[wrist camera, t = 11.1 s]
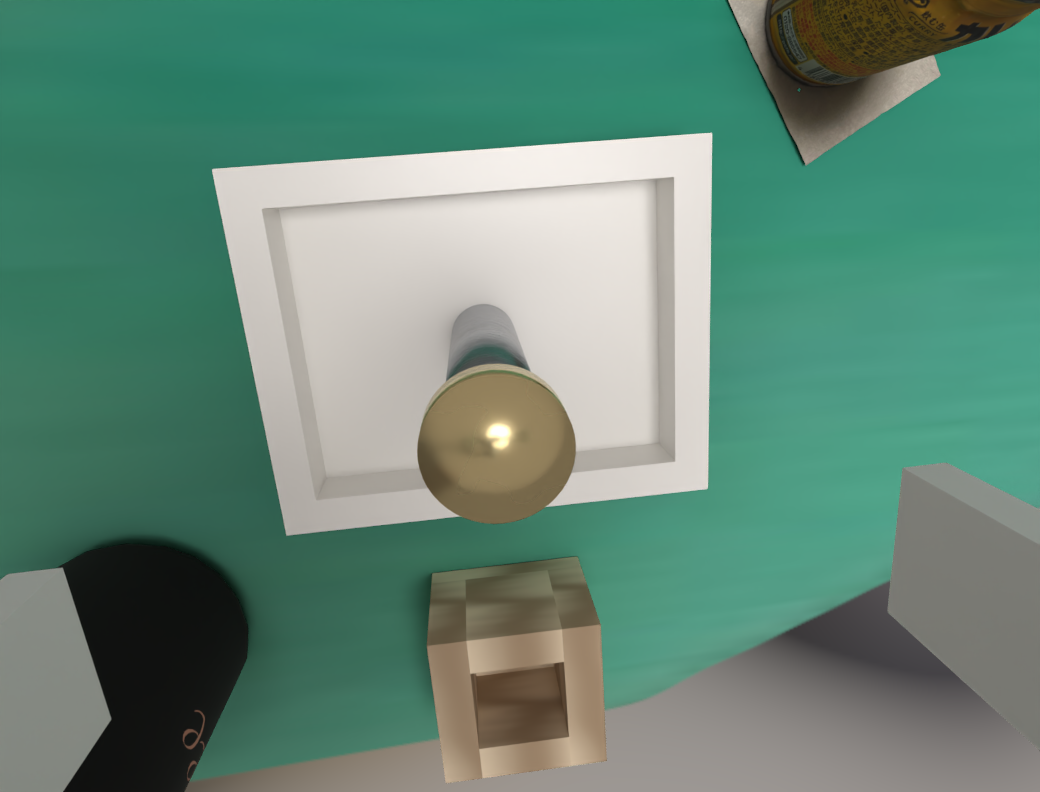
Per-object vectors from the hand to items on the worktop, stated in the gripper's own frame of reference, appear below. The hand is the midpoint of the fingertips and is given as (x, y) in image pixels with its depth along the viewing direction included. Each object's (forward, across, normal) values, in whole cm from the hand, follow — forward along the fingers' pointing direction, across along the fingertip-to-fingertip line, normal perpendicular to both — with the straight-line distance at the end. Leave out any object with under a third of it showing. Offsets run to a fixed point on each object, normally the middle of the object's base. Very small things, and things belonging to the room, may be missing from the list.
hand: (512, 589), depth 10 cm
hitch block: (+22, +1, -17) cm, 28 cm away
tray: (+22, +1, 0) cm, 22 cm away
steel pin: (+21, +1, 0) cm, 21 cm away
